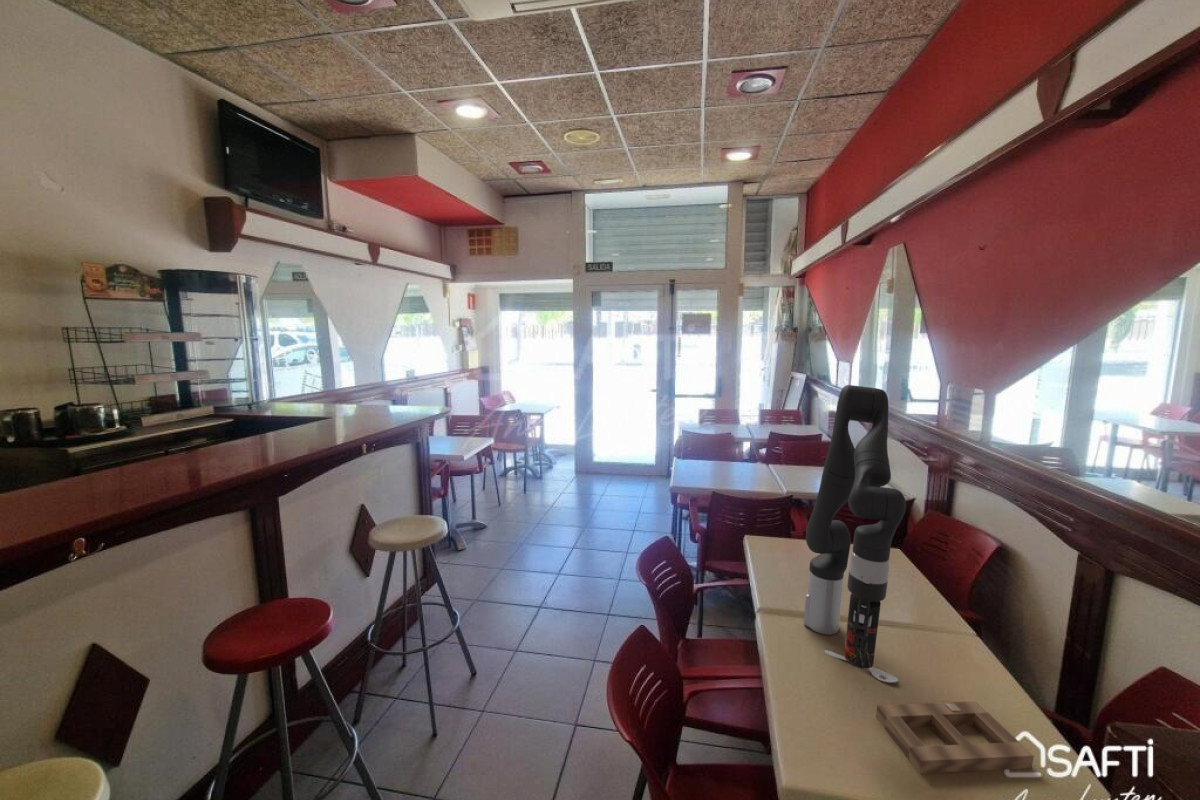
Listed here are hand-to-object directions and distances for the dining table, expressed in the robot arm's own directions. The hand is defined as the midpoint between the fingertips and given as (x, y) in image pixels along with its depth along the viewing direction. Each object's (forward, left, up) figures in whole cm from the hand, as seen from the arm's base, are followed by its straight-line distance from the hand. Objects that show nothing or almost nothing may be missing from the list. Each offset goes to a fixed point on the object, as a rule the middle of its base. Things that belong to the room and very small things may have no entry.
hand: (860, 640), depth 106 cm
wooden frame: (+18, +4, -19) cm, 27 cm away
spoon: (-2, +19, -20) cm, 27 cm away
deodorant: (0, 0, -5) cm, 5 cm away
